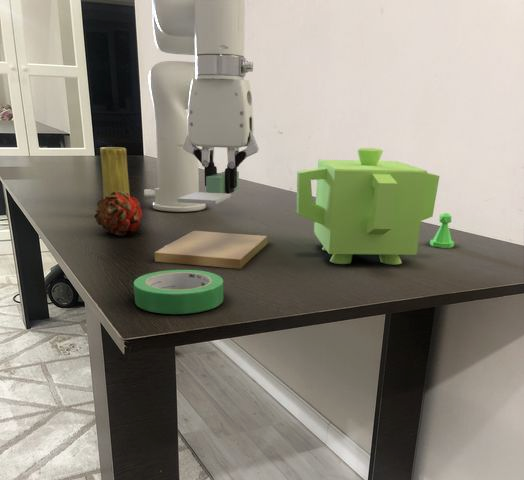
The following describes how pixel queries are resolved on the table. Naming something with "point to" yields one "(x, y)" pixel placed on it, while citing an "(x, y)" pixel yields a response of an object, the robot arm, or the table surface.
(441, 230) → the game piece
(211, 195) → the spatula
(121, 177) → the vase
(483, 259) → the table surface
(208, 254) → the cutting board
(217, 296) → the tape roll
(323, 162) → the green handled cubic container
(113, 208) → the dragon fruit
